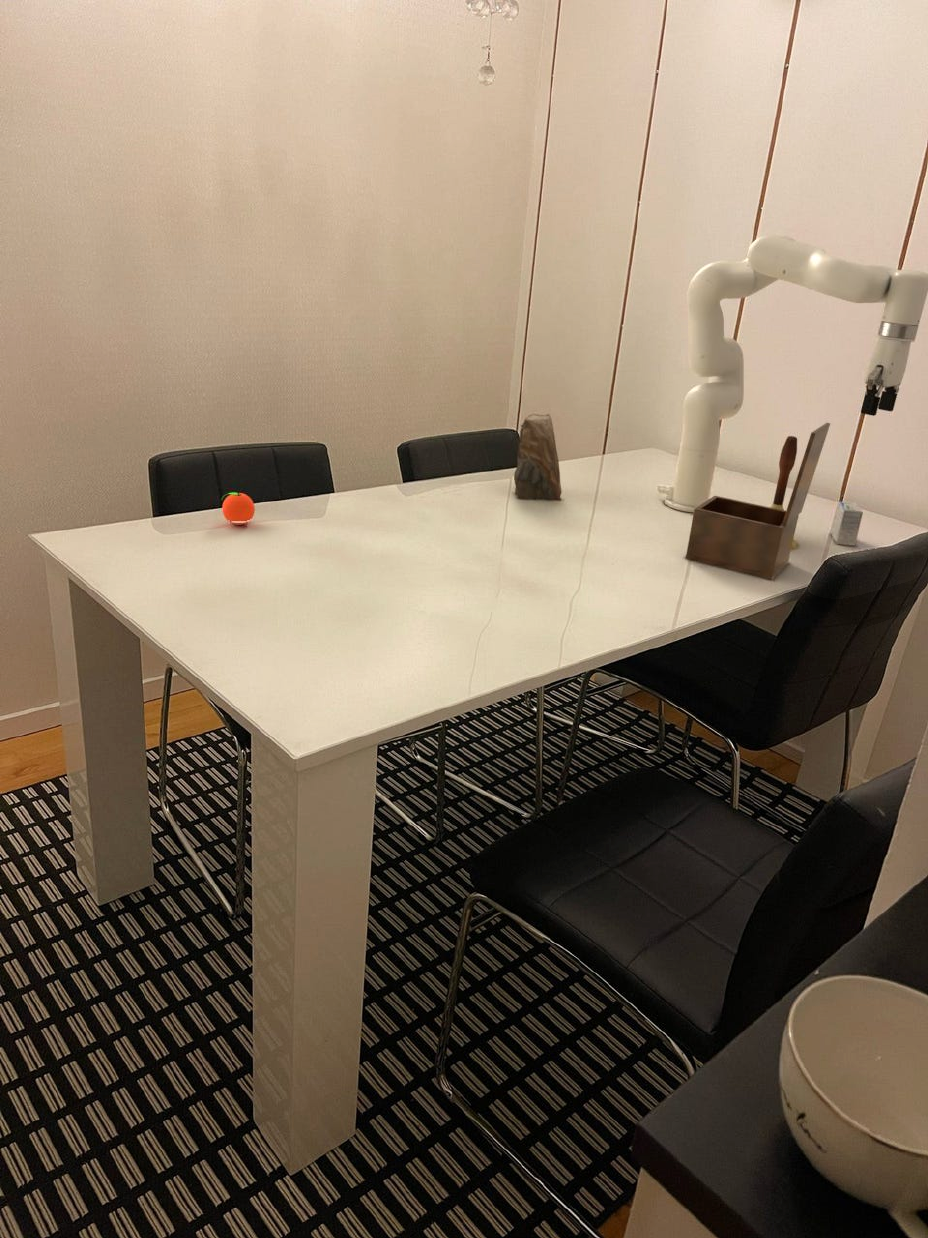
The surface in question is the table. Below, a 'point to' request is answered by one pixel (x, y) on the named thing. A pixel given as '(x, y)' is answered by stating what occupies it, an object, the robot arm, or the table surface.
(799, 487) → the lid
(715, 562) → the chest
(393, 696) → the table surface
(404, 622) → the table surface
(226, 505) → the clementine
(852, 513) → the medicine box
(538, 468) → the brown rock
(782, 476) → the handbell
